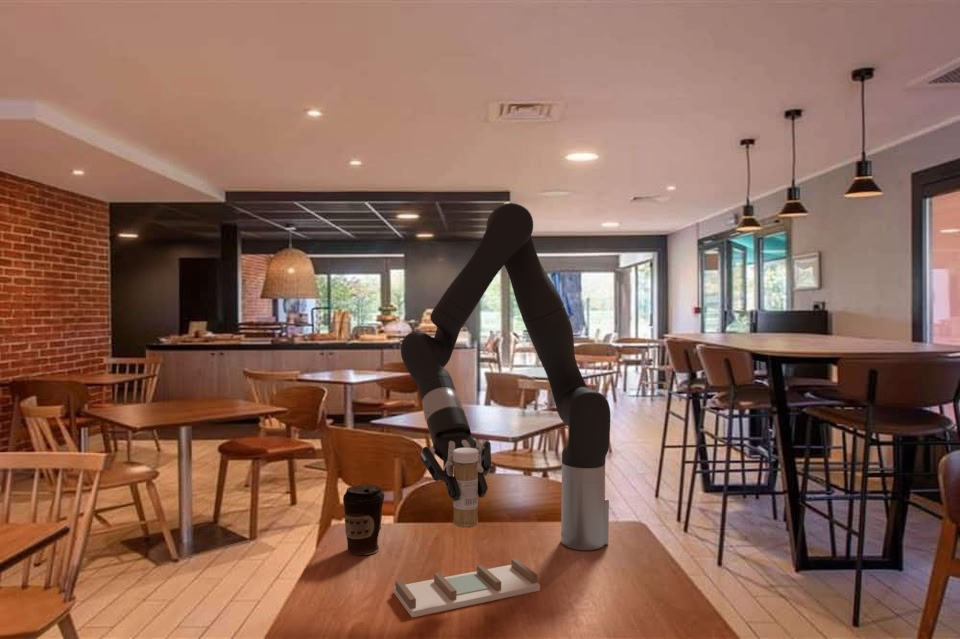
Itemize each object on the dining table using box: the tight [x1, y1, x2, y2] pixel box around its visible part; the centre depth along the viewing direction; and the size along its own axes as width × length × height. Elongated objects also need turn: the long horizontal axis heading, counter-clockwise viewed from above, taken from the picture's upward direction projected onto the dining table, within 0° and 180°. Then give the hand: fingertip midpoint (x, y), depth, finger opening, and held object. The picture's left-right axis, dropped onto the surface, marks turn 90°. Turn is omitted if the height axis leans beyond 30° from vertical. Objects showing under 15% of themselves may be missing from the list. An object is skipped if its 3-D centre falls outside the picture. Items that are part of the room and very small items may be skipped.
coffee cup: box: [342, 484, 385, 556], centre depth 131 cm, size 9×8×13 cm
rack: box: [393, 558, 541, 618], centre depth 113 cm, size 24×10×2 cm, turn 115°
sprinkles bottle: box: [452, 448, 480, 529], centre depth 113 cm, size 5×5×13 cm
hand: (470, 496), depth 111 cm, fingers closed on sprinkles bottle, 4 cm apart
